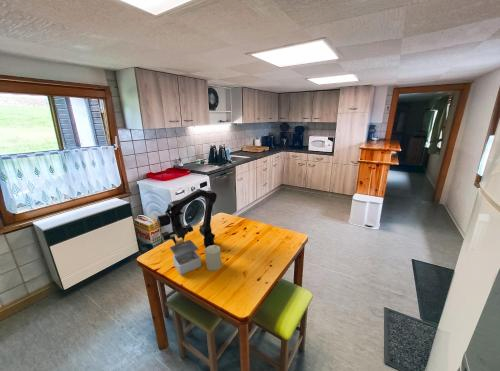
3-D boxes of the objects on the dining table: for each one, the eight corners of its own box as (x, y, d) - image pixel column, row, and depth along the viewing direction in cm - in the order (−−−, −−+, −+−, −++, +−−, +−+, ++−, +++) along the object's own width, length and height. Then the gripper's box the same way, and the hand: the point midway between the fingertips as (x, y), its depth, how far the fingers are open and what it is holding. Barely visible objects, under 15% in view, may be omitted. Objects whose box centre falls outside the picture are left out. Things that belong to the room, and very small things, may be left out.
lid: (187, 238, 145) (187, 234, 144) (198, 249, 132) (197, 245, 131) (167, 245, 137) (167, 241, 136) (176, 258, 124) (176, 253, 124)
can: (224, 262, 135) (222, 245, 132) (217, 272, 127) (215, 254, 123) (211, 259, 138) (209, 243, 134) (203, 268, 130) (201, 251, 126)
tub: (193, 256, 142) (192, 248, 140) (201, 265, 133) (200, 257, 131) (173, 264, 134) (172, 256, 133) (180, 275, 125) (179, 266, 123)
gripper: (164, 232, 123) (168, 255, 128) (195, 222, 134) (198, 244, 138) (159, 224, 132) (163, 246, 136) (188, 215, 142) (191, 236, 147)
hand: (179, 243), depth 139 cm, fingers closed on lid, 4 cm apart
